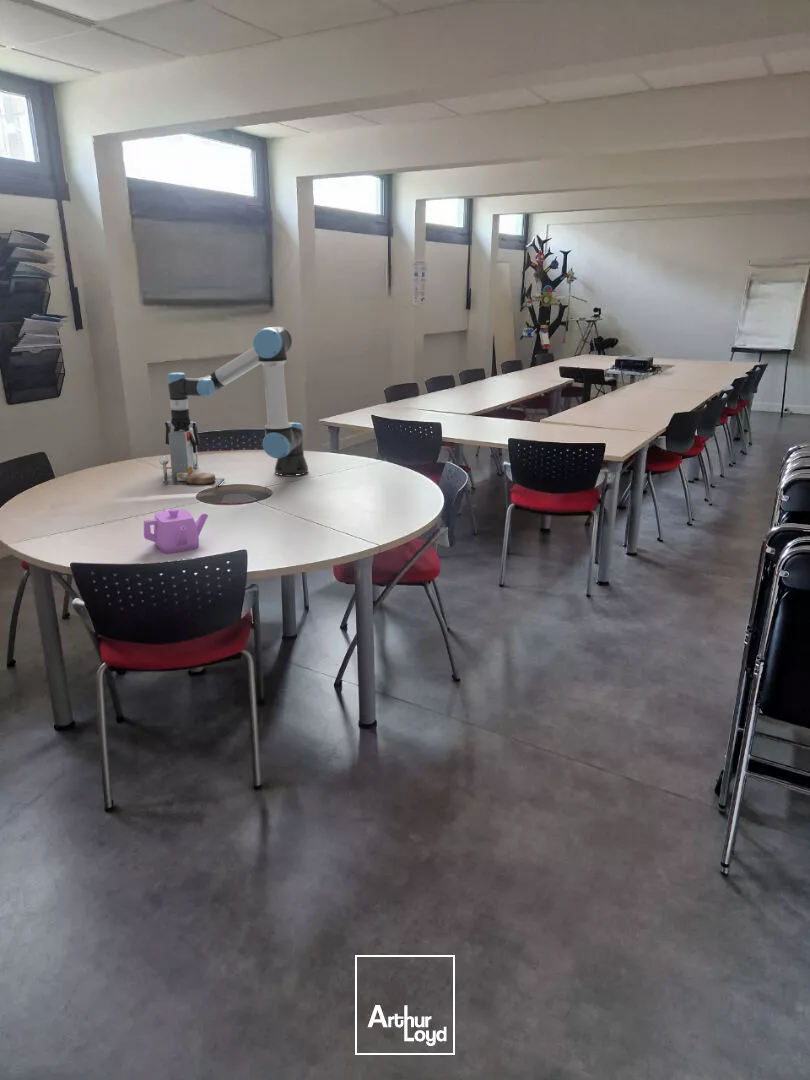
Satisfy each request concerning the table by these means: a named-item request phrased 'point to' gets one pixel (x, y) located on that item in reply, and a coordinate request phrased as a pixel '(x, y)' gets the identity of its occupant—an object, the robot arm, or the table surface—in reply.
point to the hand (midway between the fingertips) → (184, 459)
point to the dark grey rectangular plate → (174, 482)
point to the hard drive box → (182, 452)
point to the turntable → (196, 478)
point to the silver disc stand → (165, 468)
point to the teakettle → (174, 530)
